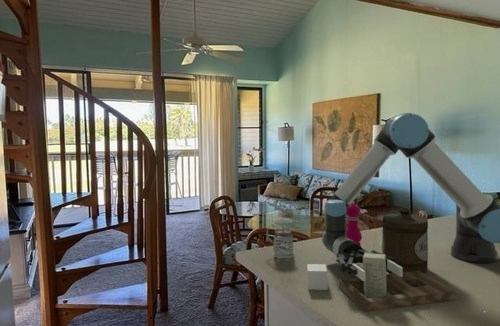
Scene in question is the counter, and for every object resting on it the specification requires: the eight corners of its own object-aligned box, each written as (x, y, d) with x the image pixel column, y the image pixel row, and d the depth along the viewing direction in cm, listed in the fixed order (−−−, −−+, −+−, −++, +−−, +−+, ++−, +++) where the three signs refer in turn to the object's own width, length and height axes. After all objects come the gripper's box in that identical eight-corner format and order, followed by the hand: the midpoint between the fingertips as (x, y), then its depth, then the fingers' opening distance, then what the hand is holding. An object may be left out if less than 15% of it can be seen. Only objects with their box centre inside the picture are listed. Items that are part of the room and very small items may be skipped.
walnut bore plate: (418, 278, 116) (418, 270, 116) (454, 299, 100) (455, 291, 100) (338, 287, 111) (338, 279, 111) (364, 311, 95) (364, 302, 95)
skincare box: (387, 294, 105) (386, 254, 104) (386, 300, 101) (386, 258, 100) (364, 290, 108) (364, 251, 107) (362, 296, 104) (362, 256, 103)
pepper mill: (343, 248, 148) (342, 202, 147) (345, 243, 155) (344, 199, 154) (361, 250, 146) (360, 202, 144) (362, 245, 152) (362, 199, 151)
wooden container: (430, 278, 115) (430, 212, 114) (382, 273, 121) (381, 210, 119) (425, 263, 129) (425, 204, 128) (382, 259, 134) (381, 202, 133)
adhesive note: (327, 290, 109) (327, 271, 109) (308, 289, 110) (307, 271, 110) (325, 282, 115) (325, 264, 115) (307, 281, 116) (307, 264, 116)
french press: (294, 259, 138) (293, 196, 136) (265, 258, 140) (263, 196, 138) (296, 251, 147) (295, 192, 146) (269, 250, 150) (267, 192, 148)
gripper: (378, 258, 124) (419, 282, 102) (316, 264, 120) (344, 291, 98) (378, 237, 123) (419, 257, 102) (315, 242, 119) (344, 265, 98)
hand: (382, 274), depth 100 cm, fingers open, 11 cm apart
